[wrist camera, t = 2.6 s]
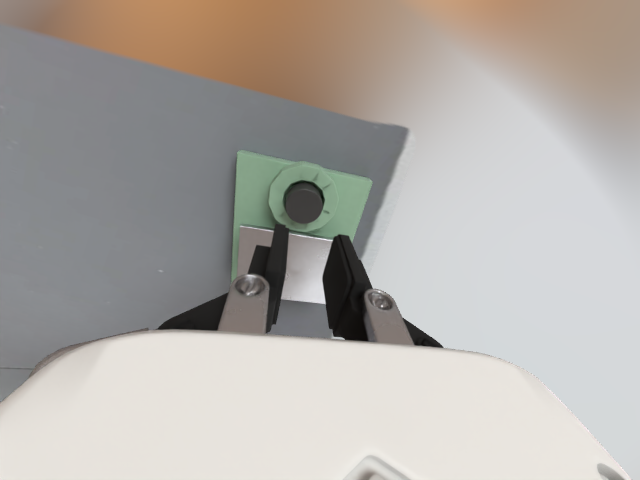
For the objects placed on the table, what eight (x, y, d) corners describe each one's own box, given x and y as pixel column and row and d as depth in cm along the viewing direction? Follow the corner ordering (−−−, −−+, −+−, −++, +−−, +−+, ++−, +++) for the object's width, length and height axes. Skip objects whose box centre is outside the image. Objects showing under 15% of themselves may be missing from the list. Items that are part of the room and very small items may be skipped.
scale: (241, 144, 19) (232, 149, 17) (370, 173, 22) (380, 181, 19) (233, 274, 26) (226, 293, 24) (332, 286, 28) (336, 304, 26)
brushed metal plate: (241, 222, 20) (239, 225, 19) (348, 240, 22) (350, 243, 21) (236, 290, 24) (235, 294, 23) (328, 300, 25) (329, 304, 25)
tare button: (289, 179, 19) (288, 185, 17) (324, 186, 19) (326, 193, 18) (283, 212, 20) (282, 220, 18) (316, 218, 21) (318, 226, 19)
